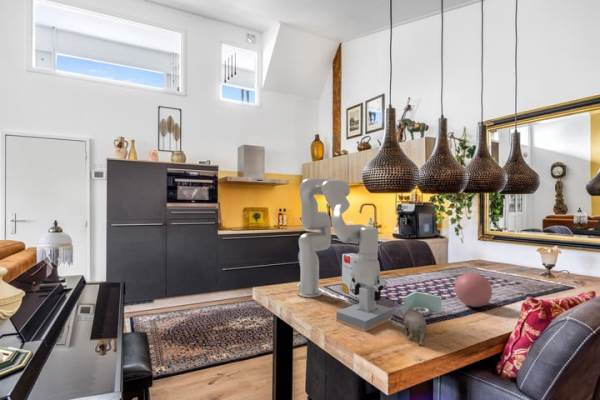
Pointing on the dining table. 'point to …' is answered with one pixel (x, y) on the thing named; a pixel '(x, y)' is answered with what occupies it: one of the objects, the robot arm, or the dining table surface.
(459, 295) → the dusty rose ball
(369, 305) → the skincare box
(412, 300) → the right angle wall
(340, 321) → the pocket block
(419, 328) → the elephant figurine
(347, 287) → the hard drive box
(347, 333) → the dining table surface
